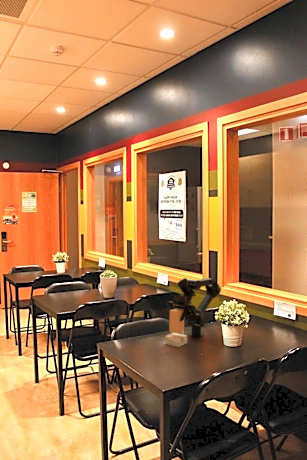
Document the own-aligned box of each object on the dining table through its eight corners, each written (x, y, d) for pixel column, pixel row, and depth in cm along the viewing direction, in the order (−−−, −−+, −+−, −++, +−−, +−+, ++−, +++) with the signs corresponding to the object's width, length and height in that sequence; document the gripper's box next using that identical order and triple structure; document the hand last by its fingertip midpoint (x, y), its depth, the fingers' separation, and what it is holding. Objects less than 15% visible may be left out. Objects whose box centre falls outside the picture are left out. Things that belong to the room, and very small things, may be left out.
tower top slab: (173, 336, 246) (173, 332, 246) (187, 339, 241) (187, 335, 241) (165, 340, 238) (165, 336, 238) (178, 343, 233) (178, 339, 233)
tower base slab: (174, 340, 246) (174, 336, 246) (187, 343, 241) (187, 339, 241) (165, 344, 239) (165, 340, 239) (178, 347, 233) (178, 343, 233)
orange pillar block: (175, 329, 243) (175, 308, 243) (184, 331, 240) (184, 310, 239) (169, 331, 239) (169, 310, 238) (178, 333, 235) (178, 312, 235)
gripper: (168, 287, 247) (156, 309, 239) (195, 291, 236) (183, 314, 227) (175, 298, 254) (164, 320, 246) (202, 303, 242) (191, 326, 234)
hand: (175, 320), depth 238 cm, fingers closed on orange pillar block, 6 cm apart
